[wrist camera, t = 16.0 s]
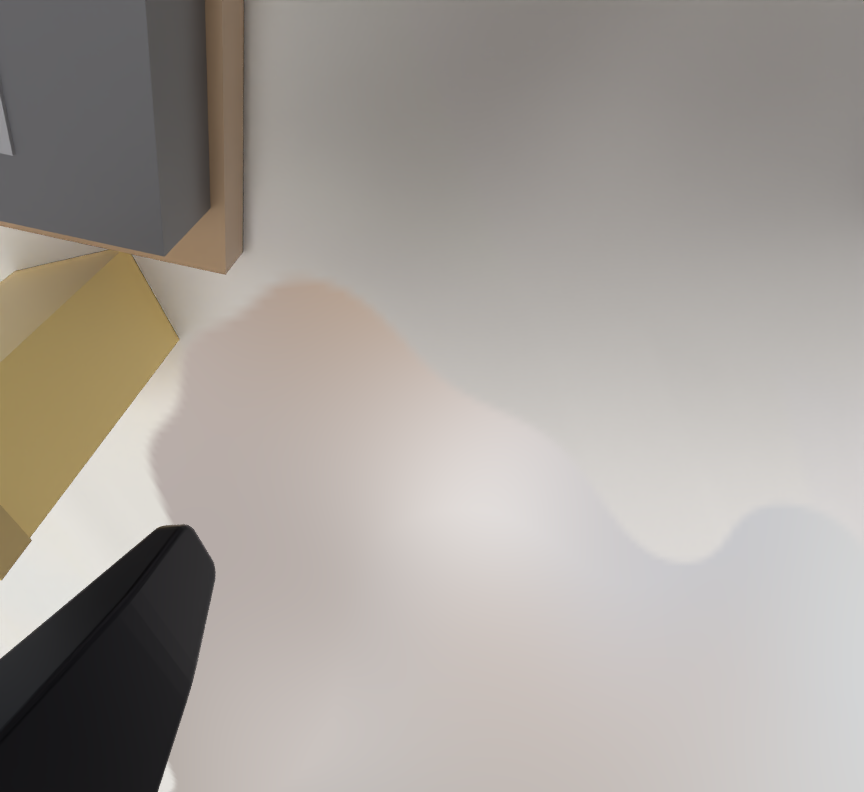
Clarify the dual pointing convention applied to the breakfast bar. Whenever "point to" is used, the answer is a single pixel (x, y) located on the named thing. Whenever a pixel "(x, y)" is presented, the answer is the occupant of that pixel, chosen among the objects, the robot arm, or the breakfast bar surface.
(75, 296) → the plug
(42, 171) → the panel
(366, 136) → the breakfast bar surface
